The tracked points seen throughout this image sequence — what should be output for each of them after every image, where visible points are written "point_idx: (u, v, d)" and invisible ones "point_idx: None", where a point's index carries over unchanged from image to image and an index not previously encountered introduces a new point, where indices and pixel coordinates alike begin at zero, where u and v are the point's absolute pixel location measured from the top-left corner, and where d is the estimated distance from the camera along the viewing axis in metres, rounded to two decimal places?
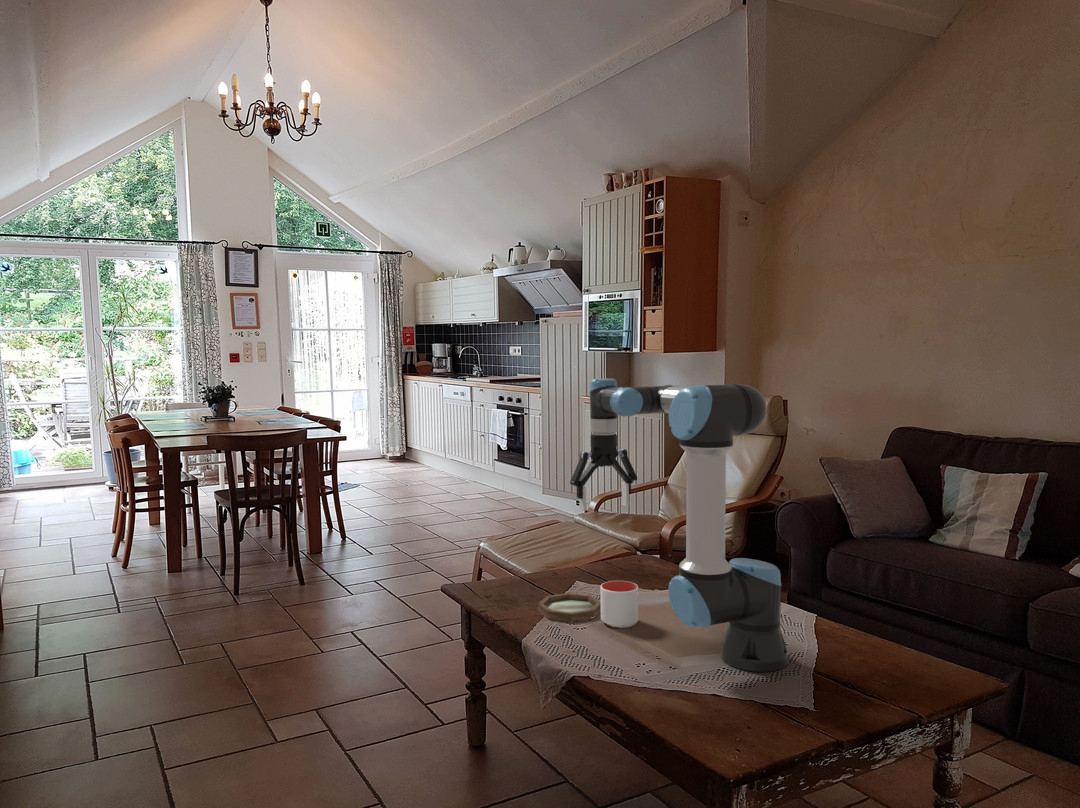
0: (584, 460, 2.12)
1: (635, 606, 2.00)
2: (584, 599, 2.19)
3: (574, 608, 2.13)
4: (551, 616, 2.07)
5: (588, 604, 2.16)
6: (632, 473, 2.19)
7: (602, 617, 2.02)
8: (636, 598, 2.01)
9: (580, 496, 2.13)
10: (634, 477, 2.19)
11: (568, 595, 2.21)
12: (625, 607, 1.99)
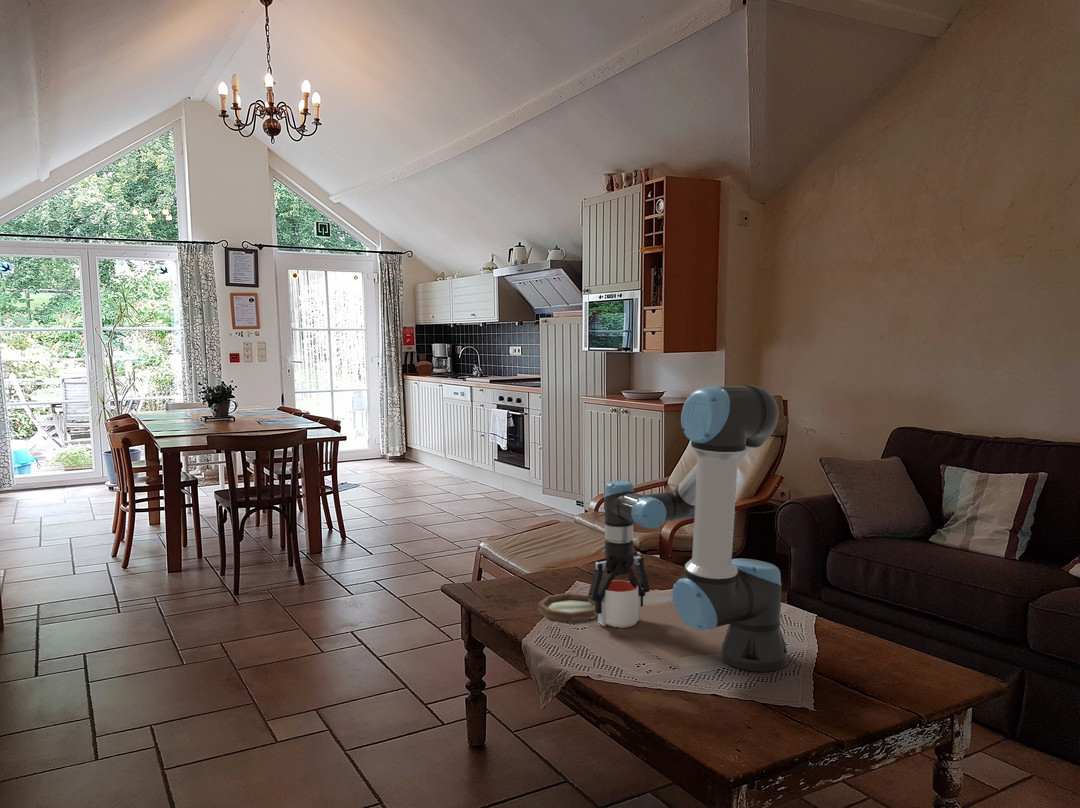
0: (599, 572, 1.99)
1: (635, 605, 2.00)
2: (584, 599, 2.19)
3: (574, 608, 2.13)
4: (551, 616, 2.07)
5: (588, 604, 2.16)
6: (645, 584, 2.05)
7: None
8: (636, 598, 2.01)
9: (599, 611, 2.00)
10: (647, 589, 2.05)
11: (568, 595, 2.21)
12: (625, 606, 1.99)
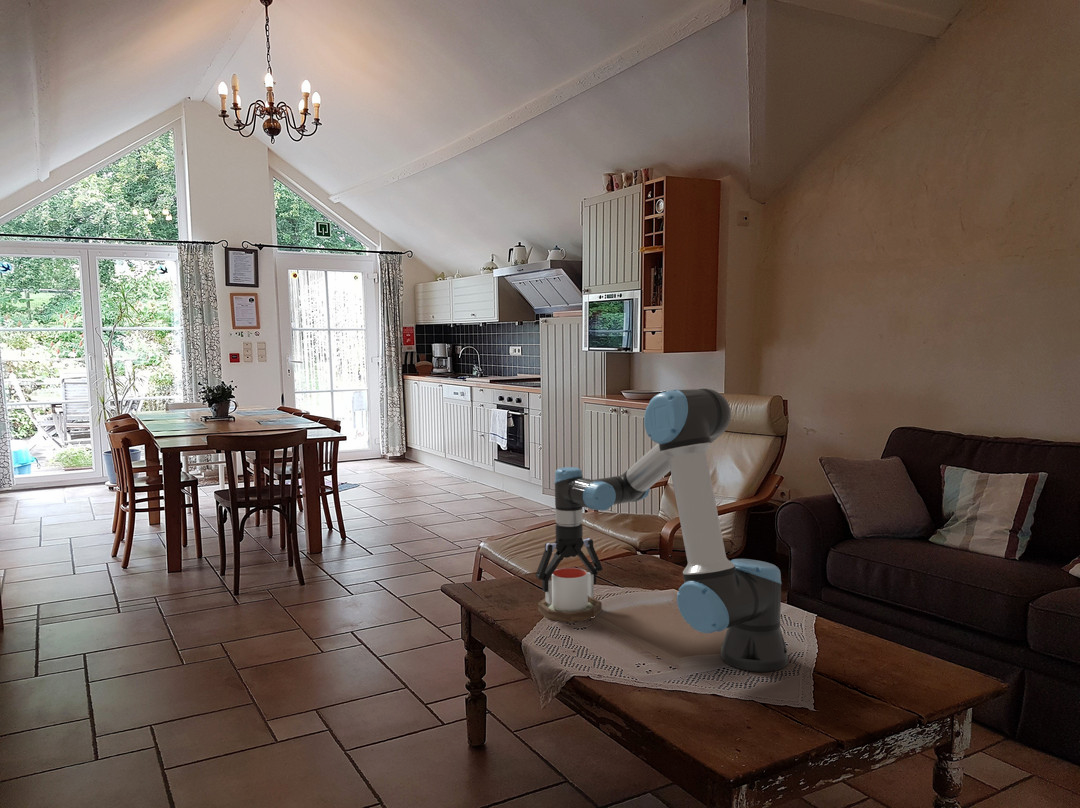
0: (549, 553, 2.09)
1: (584, 591, 2.10)
2: None
3: None
4: (551, 616, 2.07)
5: (588, 604, 2.16)
6: (597, 563, 2.15)
7: (553, 602, 2.12)
8: (585, 584, 2.10)
9: (545, 589, 2.09)
10: (599, 568, 2.15)
11: None
12: (574, 592, 2.08)
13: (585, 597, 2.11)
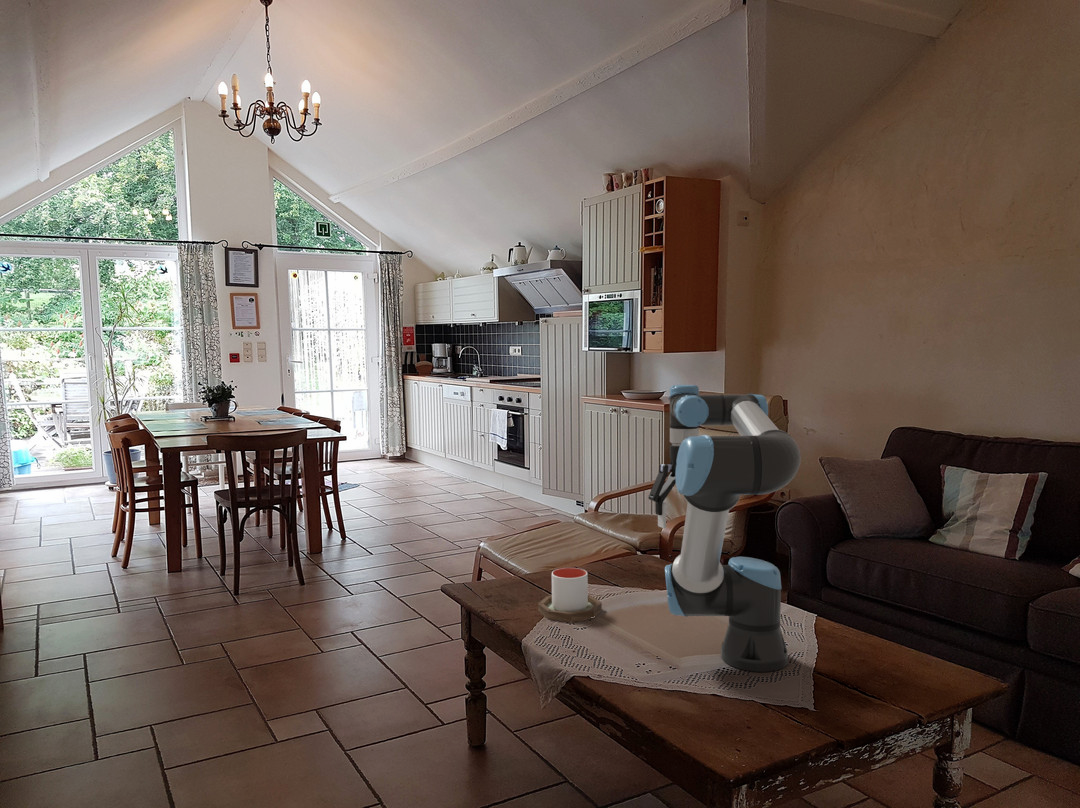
0: (664, 473, 1.96)
1: (584, 591, 2.10)
2: None
3: None
4: (551, 616, 2.07)
5: (588, 604, 2.16)
6: None
7: (553, 602, 2.12)
8: (585, 584, 2.10)
9: (659, 512, 1.96)
10: None
11: None
12: (574, 592, 2.08)
13: (585, 597, 2.11)
